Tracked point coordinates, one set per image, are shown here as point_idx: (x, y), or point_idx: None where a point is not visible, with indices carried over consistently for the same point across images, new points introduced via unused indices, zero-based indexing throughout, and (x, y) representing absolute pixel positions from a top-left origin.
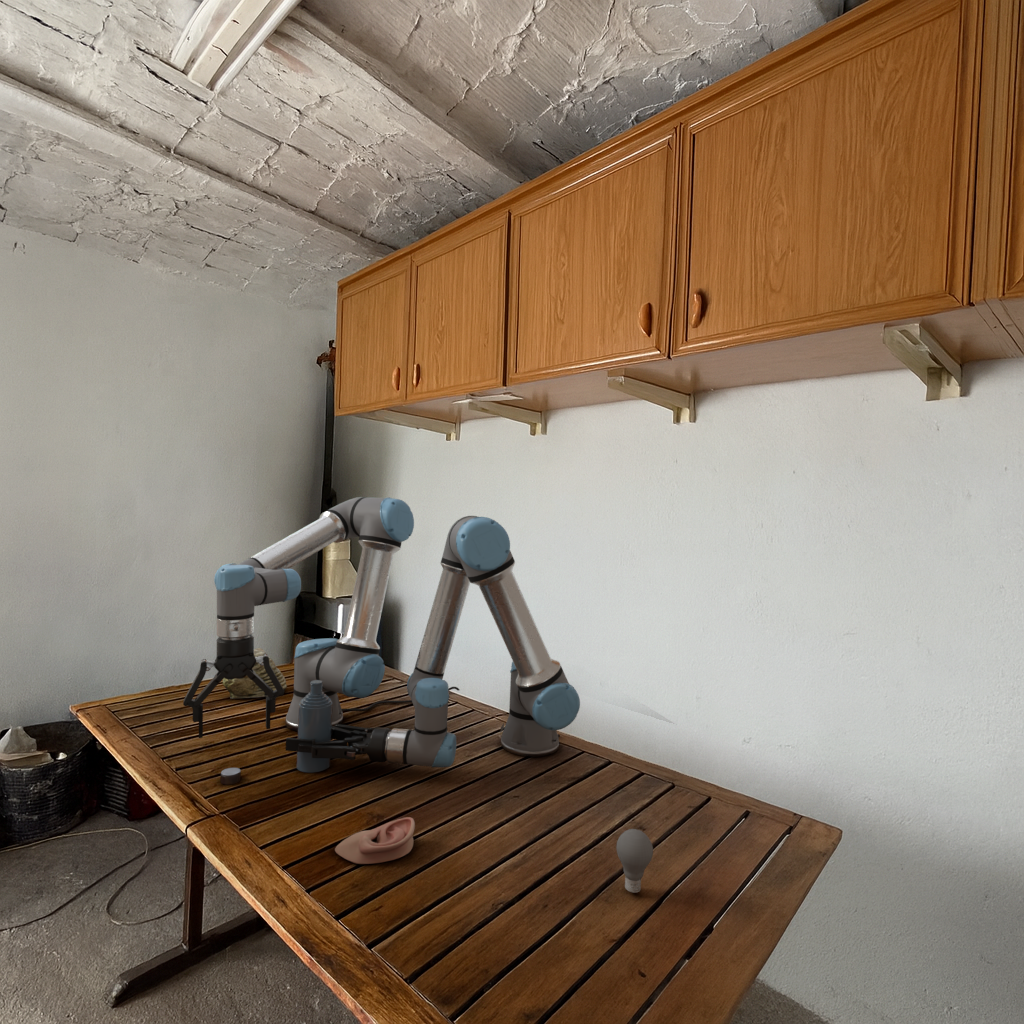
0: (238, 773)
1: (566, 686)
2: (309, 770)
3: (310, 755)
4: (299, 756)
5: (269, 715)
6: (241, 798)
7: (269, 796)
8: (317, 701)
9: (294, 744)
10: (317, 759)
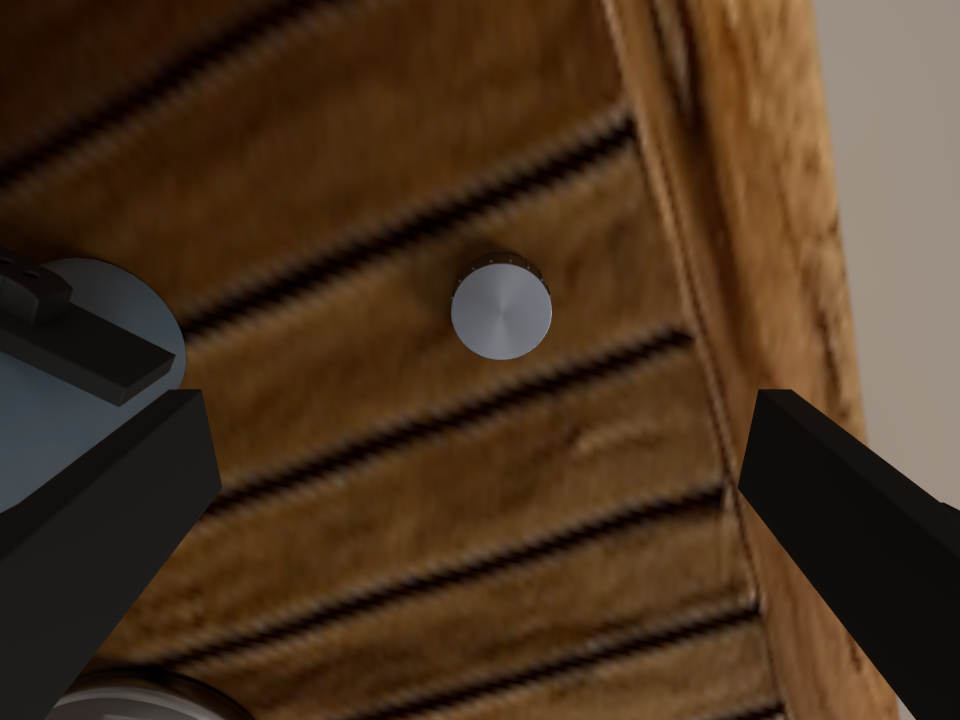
0: (461, 280)
1: None
2: (102, 265)
3: None
4: None
5: (84, 463)
6: (450, 45)
7: (298, 14)
8: None
9: (84, 341)
10: None
